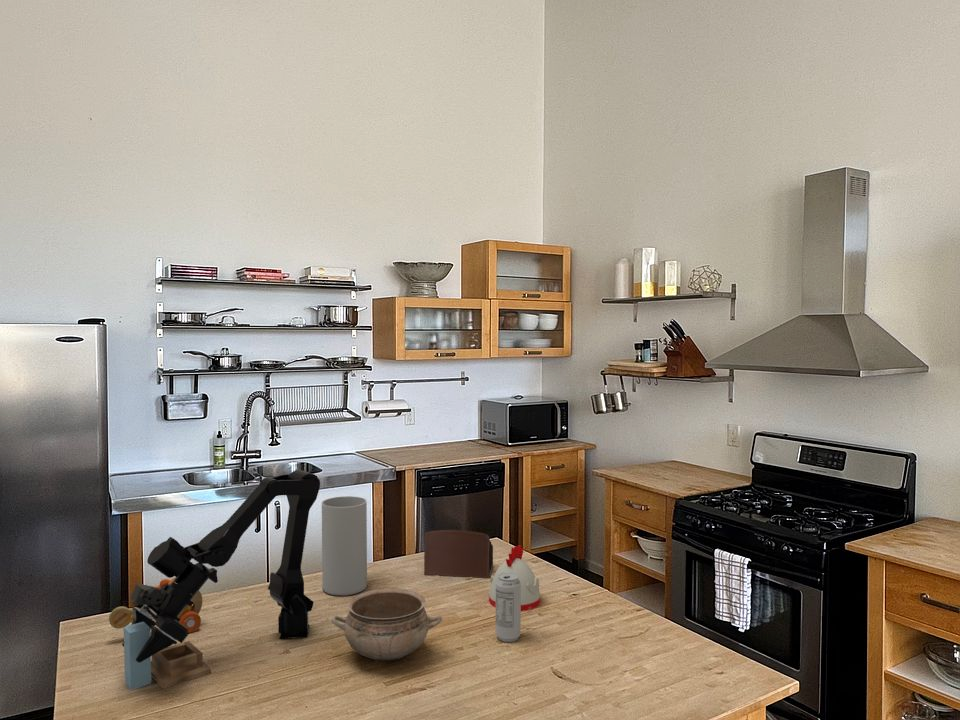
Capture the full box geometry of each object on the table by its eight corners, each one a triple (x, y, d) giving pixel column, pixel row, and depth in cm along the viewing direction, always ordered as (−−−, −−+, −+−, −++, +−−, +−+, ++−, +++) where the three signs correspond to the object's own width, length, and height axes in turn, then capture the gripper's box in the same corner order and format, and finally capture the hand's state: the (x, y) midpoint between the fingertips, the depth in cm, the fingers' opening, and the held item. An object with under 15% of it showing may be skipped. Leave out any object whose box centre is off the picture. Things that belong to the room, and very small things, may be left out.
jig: (190, 653, 163) (189, 636, 163) (211, 672, 154) (210, 654, 154) (144, 668, 156) (143, 650, 156) (163, 688, 148) (162, 670, 147)
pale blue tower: (145, 676, 153) (143, 621, 152) (151, 683, 150) (149, 627, 149) (124, 682, 150) (123, 627, 149) (130, 690, 147) (129, 633, 147)
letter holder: (489, 579, 212) (489, 532, 211) (423, 575, 214) (423, 529, 213) (493, 567, 221) (493, 522, 221) (430, 564, 224) (430, 520, 223)
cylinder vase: (362, 596, 197) (362, 507, 196) (317, 596, 197) (316, 507, 196) (370, 580, 210) (369, 496, 208) (328, 580, 210) (327, 496, 209)
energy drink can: (525, 637, 172) (525, 576, 171) (509, 645, 168) (509, 582, 167) (506, 629, 176) (507, 570, 175) (490, 637, 172) (490, 576, 171)
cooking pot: (444, 637, 172) (444, 587, 172) (439, 676, 153) (439, 620, 153) (340, 636, 172) (339, 587, 172) (323, 675, 153) (322, 620, 153)
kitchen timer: (548, 598, 197) (549, 544, 196) (524, 615, 185) (524, 558, 184) (505, 588, 204) (505, 536, 203) (479, 604, 193) (479, 549, 192)
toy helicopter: (205, 629, 176) (204, 575, 175) (111, 650, 165) (110, 592, 164) (199, 618, 183) (197, 565, 182) (108, 637, 172) (106, 581, 171)
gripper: (141, 558, 158) (87, 620, 151) (171, 580, 145) (113, 650, 138) (178, 584, 164) (127, 646, 157) (210, 608, 150) (156, 677, 143)
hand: (130, 653), depth 149 cm, fingers open, 9 cm apart
